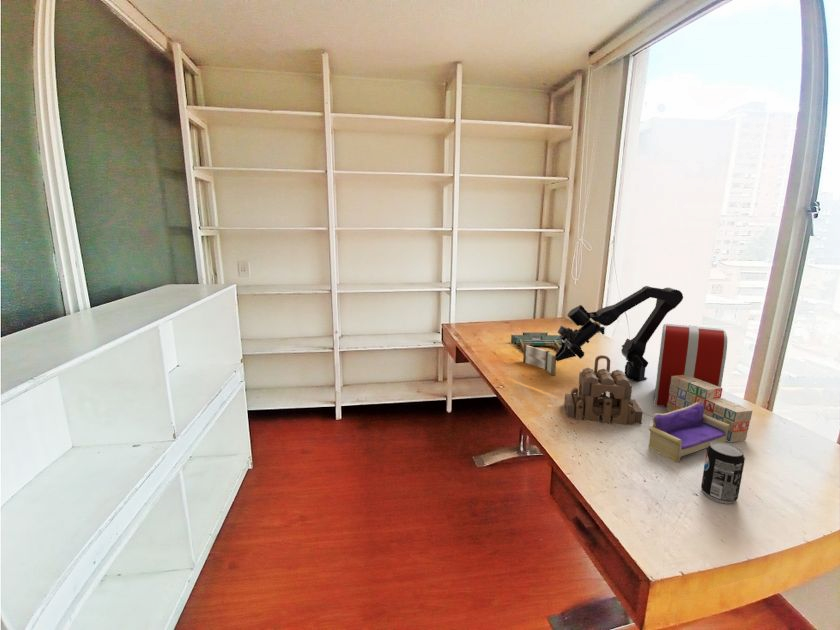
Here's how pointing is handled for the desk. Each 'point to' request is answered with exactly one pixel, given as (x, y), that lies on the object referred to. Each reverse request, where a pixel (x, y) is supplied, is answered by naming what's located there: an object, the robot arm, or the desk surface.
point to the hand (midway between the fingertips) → (555, 359)
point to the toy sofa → (685, 431)
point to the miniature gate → (536, 339)
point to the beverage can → (722, 472)
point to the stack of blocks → (709, 404)
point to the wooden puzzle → (603, 397)
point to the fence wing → (551, 363)
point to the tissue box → (689, 357)
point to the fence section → (535, 356)
